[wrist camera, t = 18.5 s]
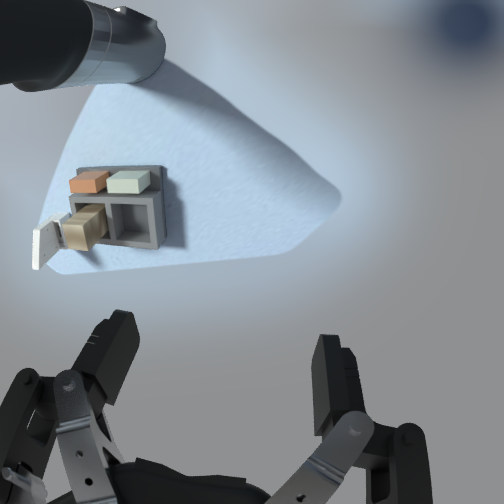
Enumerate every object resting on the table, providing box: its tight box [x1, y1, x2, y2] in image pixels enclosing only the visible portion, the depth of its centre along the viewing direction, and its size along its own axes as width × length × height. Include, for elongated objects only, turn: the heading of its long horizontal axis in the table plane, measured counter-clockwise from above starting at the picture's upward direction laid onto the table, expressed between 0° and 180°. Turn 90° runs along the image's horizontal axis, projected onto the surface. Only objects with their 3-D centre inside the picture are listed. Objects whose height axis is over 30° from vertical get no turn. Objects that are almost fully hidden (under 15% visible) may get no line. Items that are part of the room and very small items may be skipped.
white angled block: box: [32, 213, 70, 270], centre depth 42 cm, size 4×10×9 cm, turn 179°
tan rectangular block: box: [62, 203, 109, 251], centre depth 39 cm, size 4×4×8 cm
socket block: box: [69, 165, 167, 250], centre depth 40 cm, size 12×15×5 cm
